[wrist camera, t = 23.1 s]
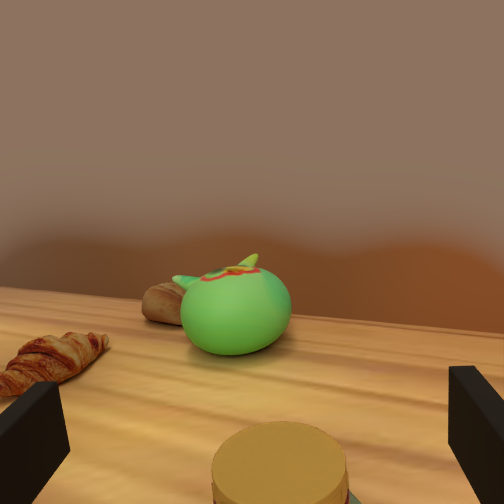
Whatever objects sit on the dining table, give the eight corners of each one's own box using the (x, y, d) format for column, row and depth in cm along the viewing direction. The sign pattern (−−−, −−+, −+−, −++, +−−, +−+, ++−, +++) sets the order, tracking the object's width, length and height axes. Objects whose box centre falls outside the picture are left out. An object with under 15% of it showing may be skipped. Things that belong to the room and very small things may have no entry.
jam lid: (244, 565, 22) (240, 533, 21) (198, 469, 29) (195, 444, 28) (376, 506, 25) (375, 477, 24) (304, 432, 32) (303, 409, 31)
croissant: (99, 362, 82) (80, 323, 83) (132, 344, 77) (111, 303, 77) (-16, 423, 64) (-40, 373, 65) (16, 405, 59) (-11, 351, 59)
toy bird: (199, 383, 64) (187, 284, 61) (175, 342, 80) (165, 261, 77) (311, 354, 70) (305, 263, 67) (269, 321, 86) (262, 245, 83)
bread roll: (186, 336, 82) (181, 294, 80) (130, 325, 90) (124, 287, 89) (218, 318, 90) (214, 279, 88) (164, 309, 98) (159, 274, 96)
